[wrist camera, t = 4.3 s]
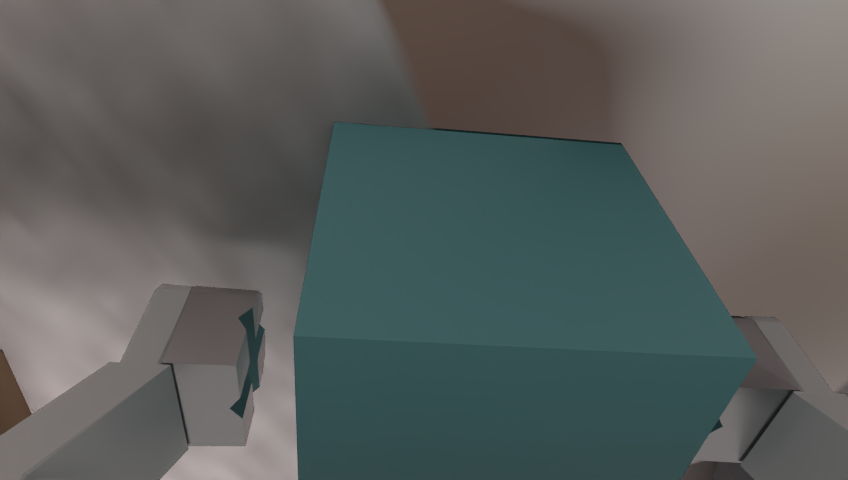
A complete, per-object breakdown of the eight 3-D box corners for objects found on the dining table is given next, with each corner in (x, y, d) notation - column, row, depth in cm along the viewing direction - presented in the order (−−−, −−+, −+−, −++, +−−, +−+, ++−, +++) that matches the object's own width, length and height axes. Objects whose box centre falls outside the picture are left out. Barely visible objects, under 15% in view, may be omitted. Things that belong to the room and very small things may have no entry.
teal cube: (621, 142, 11) (757, 358, 7) (554, 341, 14) (620, 572, 10) (334, 119, 10) (294, 336, 6) (330, 330, 13) (301, 568, 9)
